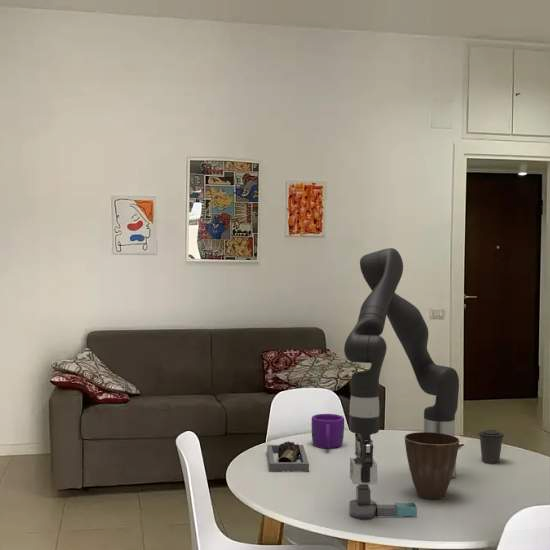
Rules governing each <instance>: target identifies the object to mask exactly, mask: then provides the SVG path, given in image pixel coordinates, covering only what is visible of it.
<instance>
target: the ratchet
mask: <svg viewBox="0 0 550 550" xmlns="http://www.w3.org/2000/svg"><path fill="white" fill-rule="evenodd" d="M371 491H372V490H371V488H370V484H357V485H356V486H355V499H352V500H350V501H349V503H348V508H349V509H348V511H349V512H348V515H349V517H350V518H353V519H357V520H363V521H367V520H373V518H374V519H375V517H376V518H377V516H418V515H417V514H418V507H417V505H416V503H415V502H394V504H378V503H377V502H376V501H375V500H372V499H371Z"/></svg>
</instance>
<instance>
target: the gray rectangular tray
mask: <svg viewBox="0 0 550 550" xmlns="http://www.w3.org/2000/svg"><path fill="white" fill-rule="evenodd" d="M298 445H299V448H300V456H299V459H300V462H297V461H296V462H295V461H294V462H278V461H276V462H275V457H274V456H275V455H274V454H278V450H279V446H280V444H267V445H266V453H267V454H268V455H267V454H266V455H267V461H268V462H269V463H268V462H267V463H268V469H269V470H270V471H269V472H270V473H271V472H272V473H277V472H278V473H280V472H281V473H283V472H282V471H285V472H286V473H288V472H287V471H309V472H310V463H309V459H308V456H307V453H306V450H305V447H304V444H298ZM285 472H284V473H285Z"/></svg>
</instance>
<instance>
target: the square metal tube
mask: <svg viewBox="0 0 550 550" xmlns="http://www.w3.org/2000/svg"><path fill="white" fill-rule="evenodd" d="M365 462H368V459H365ZM372 464H373V466H372V467H371V468H370V482H369V483H362V482H361V466H360V465H361V460H360V459H359V458H356V457H352V458H349V479H350V480H351V483H352V484H353V485H358V484H368V485H378V464H377V462H376V460H375V458H373V462H372Z"/></svg>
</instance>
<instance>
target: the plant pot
mask: <svg viewBox="0 0 550 550" xmlns="http://www.w3.org/2000/svg"><path fill="white" fill-rule="evenodd" d="M404 443H405V444H404V445H405V453H406V459H407V463H408V468H409V472H410V475H411V480H412V483H413V486H414V490H415V491H416V494H417V496H418V497H420V498H423V499H427V500H438V499H439V500H440V499H443V498H444V497H445V496H446V494H447V490H448V488H449V485H450V483H451V480H452V478H451V477H452V474H453V470H454V466H455V462H456V463H457V457H458V452H459V447H460V439H459V437H456V435H455V436H452V435H448V434H442V433H433V432H424V431H422V432H421V431H418V432H417V431H416V432H410V433H407V434H405V435H404Z"/></svg>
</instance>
